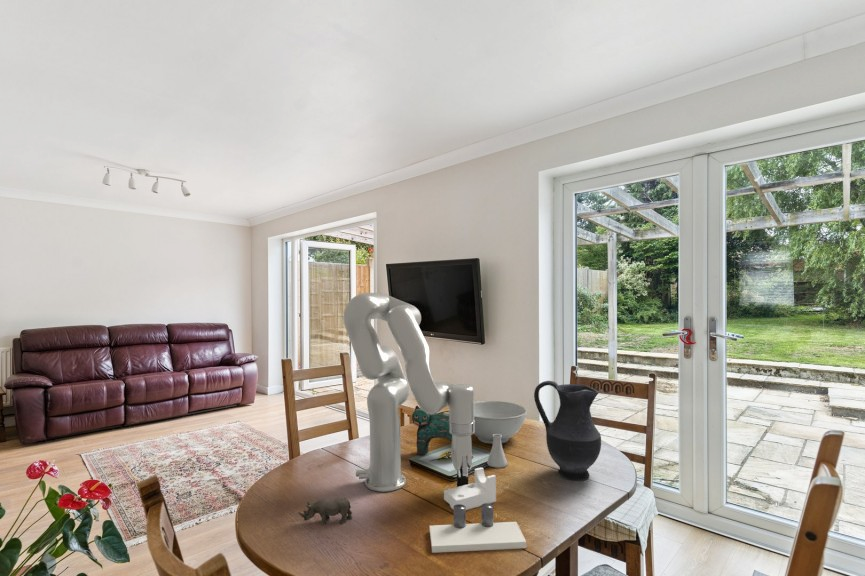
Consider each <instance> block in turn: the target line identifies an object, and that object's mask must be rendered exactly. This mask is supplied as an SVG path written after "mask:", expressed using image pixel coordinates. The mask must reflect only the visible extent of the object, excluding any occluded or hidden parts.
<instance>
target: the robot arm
mask: <svg viewBox="0 0 865 576" xmlns="http://www.w3.org/2000/svg"><path fill="white" fill-rule="evenodd" d="M375 319H379V320H381V321H384V322H387V325H388V327H389V328H388V329H389V330H390V333H391V335H392V337H393V339H394V341H395V343H396V344H397V346H398V349H399V350H400V353H401V355H402V358H403V360H404V361H403V362H404V368H405V372H404V368H403V367H402V364H401V361H400V358H399V356H398V354H397V353H396V351H395V350H393V349H392V347H389V346H387V345H386V346H385V345H381V342H380V339H379V337H378V334H377V331H376V330H375V329H374V327H373V326H372V324H371V320H375ZM421 321H422V314H421V312H420V310H419V308H417V307H416V306H415V305H412V304H410V303H408V302H406V301H402V300H400V299H397V298H396V297H393V296H391V295H388V294H385V293H383V292H363V293H359V294H357V295H355V296H354V297H352V298H351V299H350V300H349V301H348V303H347V305H345V309H344V312H343V324H344V328H345V330H346V333H347V335H348V338H349V340H350V343H351V346H352V349H353V352H354V356H355V359H356V361H357V364H358V366H359V369H360V370H359V371H360V372H361V375H362V376H363V377H364V378H366V379H367V380H370V381H371V380H374V381H375V380H378V383H376V384H374V385H373V387H371V389H370V390H369V391H368V394H367V398H366V404H367V405H366V406H367V410H368V417H369V460H370V461H369V463H370V464H369V468H366V469H356V470H355V477H358V479H359V480H363V479H365V480H364V482H365V483H364V485H365V487H366V488H368V489H369V490H372V491H375V492H383V493H384V492H393V491H396V490H398V489H401V488H403V487H404V486H405V485H406V483H407V482H406V481H407V479H406V476H405V475H404V474H403V473H402V471H401V469H402V467H401V466H402V465H401V461H402V460H401V459H402V458H401V457H402V456H401V454H402V451H401V446H402V445H401V444H402V443H401V442H402V441H401V439H402V438H401V420H400V415H399V407H400V406H401V405H402V404H404V403H405V402H406V401H407V399H408V398H409V395H410V391H411V392H412V393H411V394H412V395H413V398H414V399H415V401H416V403H417V404H418V405H417V406H418V407H420V408H421V409H422V410H423V411H425V412H426V413H429V414H434V413H440V412H441V410H442V409H443V408H445V407H447V406H448V411H449V412H448V413H449V432H450V434H452V442H451V455H450V457H451V458H450V459H451V462H452V466H453V468H454V470H455V471H456V487H459V486H463V485H467V484H469V470H471V469H472V466H473V461H472V460H473V459H472V458H473V454H472V452H473V451H472V450H473V448H472V443H473V442H472V435H474V433H475V416H474V402H475V389H474V387H473V386H472V385H470V384H465V383H464V384H453V383H448V382H443V381H436V382H435V381H434V379H433V376H432V373H431V369H430V364H429V362H430V346H429V344H428V341H427V340H426V338H425V336H424V334H423V331H422V329H421V328H420V324H421ZM405 373H406V375H405Z"/></svg>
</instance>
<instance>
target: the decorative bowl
mask: <svg viewBox="0 0 865 576" xmlns="http://www.w3.org/2000/svg"><path fill="white" fill-rule="evenodd" d="M527 414H528V409H527V408H526V407H525V406H523V405H521V404H518V403H513V402H508V401H501V400H481V401H474V416H475V433H474V434H473V435H475V436H476V437H477V438H478V440H479V441H480V442H481V443H484V444H490V445H493V434H500V435H502V437H501V444H505V443H507V442H509V440H510V438H512V437H514V436H515V435H516V434H517V433H518V432H519V431H520V429H521V428H522V427H523V424H524V422H525V420H526V417H527Z"/></svg>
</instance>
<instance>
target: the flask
mask: <svg viewBox="0 0 865 576" xmlns="http://www.w3.org/2000/svg"><path fill="white" fill-rule="evenodd" d="M501 437H502V435H500V434H493V444H492V447H491V450H490V453H489V455H488V458H487V462H486V463H487V466H488V467H491V468H506V467H507V466H508V464H509V463H508V460H507V458H506V455H505V452H504V449H503V443H501Z"/></svg>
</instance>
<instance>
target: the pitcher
mask: <svg viewBox="0 0 865 576" xmlns="http://www.w3.org/2000/svg"><path fill="white" fill-rule="evenodd" d="M546 386H550V387H553V388H554V389H555V390H556V392H557V394H558V398H559V408H558V411H557V413H556V416H555V418H554V420H553V421H552V422H551V421H550V420H549V419H548V417H547V414H546V411H545V410H544V407H543V404H542V403H541V400H540V396H539V394H540V393H539V392H540V390H541V389H542V388H543V387H546ZM598 395H599V391H598V390H597V389H595V388H593V387H592V386H591V387H590V386H588V385H584V384H577V383H575V384H570V383H568V384H558V382H555V381H553V380H545V381H542V382H540V383H539V384H537V385H536V387H535V389H534V393H533V397H534V398H533V399H534V402H535V405H536V409H537V411H538V413H539V415H540V417H541V419H542V422H543V424H544V427H545V432H546V435H545V437H546V439H545V440H546V446H547V451H548V452H549V453H548V454H549V456H550V458H551V459H552V460H553V462H555V464H556V465H557V466H558V468H559V469H558V472H557V473H558V475H559V476H560V477H562V478H564V479H566V480H570V481H586V480H587V479H589V478H590V473H589V470H588V469H589V468H591V467H592V466H593V465H594V463H595V462H596V461H597V459H598V458H599V455H600V453H601V449H602V437H601V436H602V434H601V433H600V432H599V430H598V429H597V427H596V425H595V423H594V421H593V417H592V413H591V406H592V404H593V402H594V400H595V399H596V397H597V396H598Z"/></svg>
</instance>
